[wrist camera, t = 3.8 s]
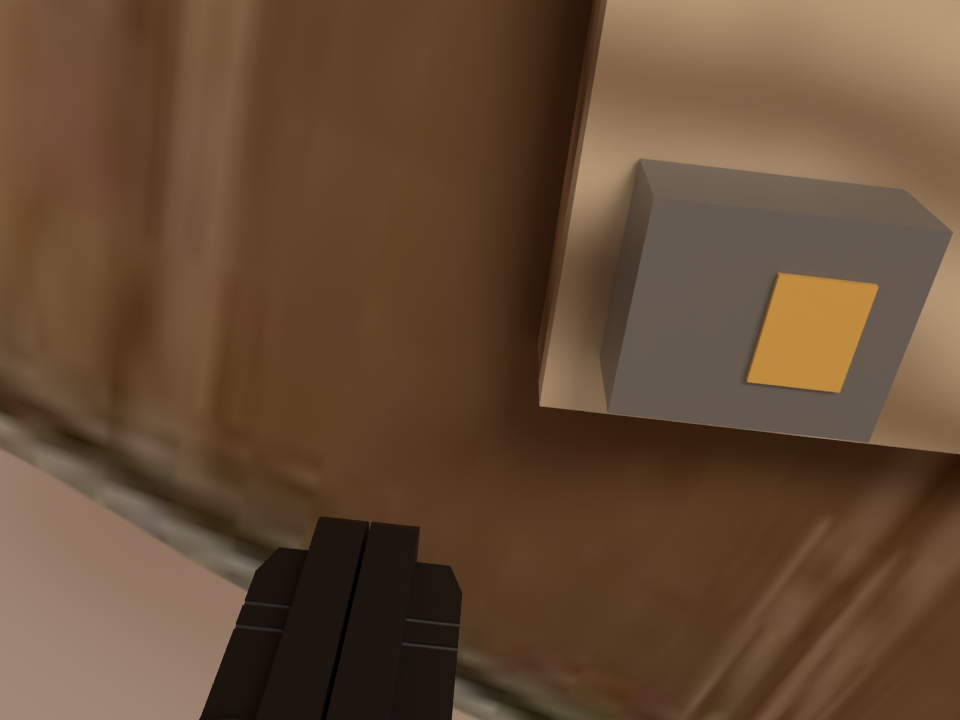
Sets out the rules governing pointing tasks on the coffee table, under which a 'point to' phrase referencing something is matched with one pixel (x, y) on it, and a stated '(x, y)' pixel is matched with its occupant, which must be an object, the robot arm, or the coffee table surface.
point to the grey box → (765, 299)
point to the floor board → (762, 157)
